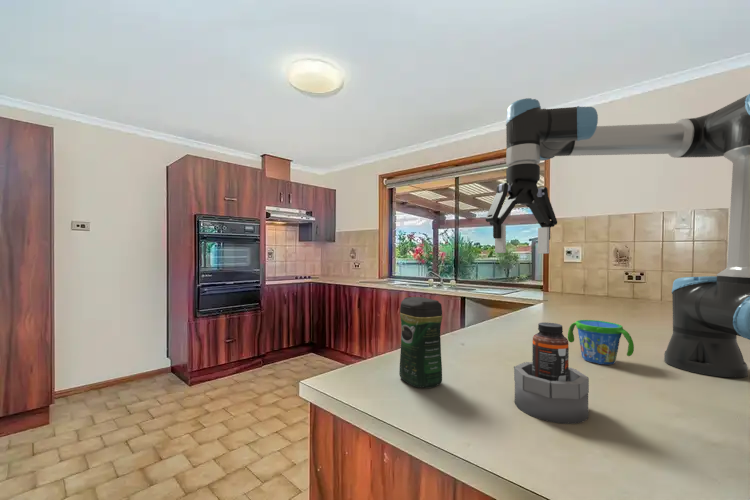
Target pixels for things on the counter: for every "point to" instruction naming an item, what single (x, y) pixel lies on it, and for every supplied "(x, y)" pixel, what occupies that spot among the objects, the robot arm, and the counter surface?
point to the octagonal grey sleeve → (552, 396)
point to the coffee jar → (421, 342)
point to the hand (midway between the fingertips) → (522, 253)
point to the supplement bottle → (550, 353)
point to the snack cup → (600, 340)
